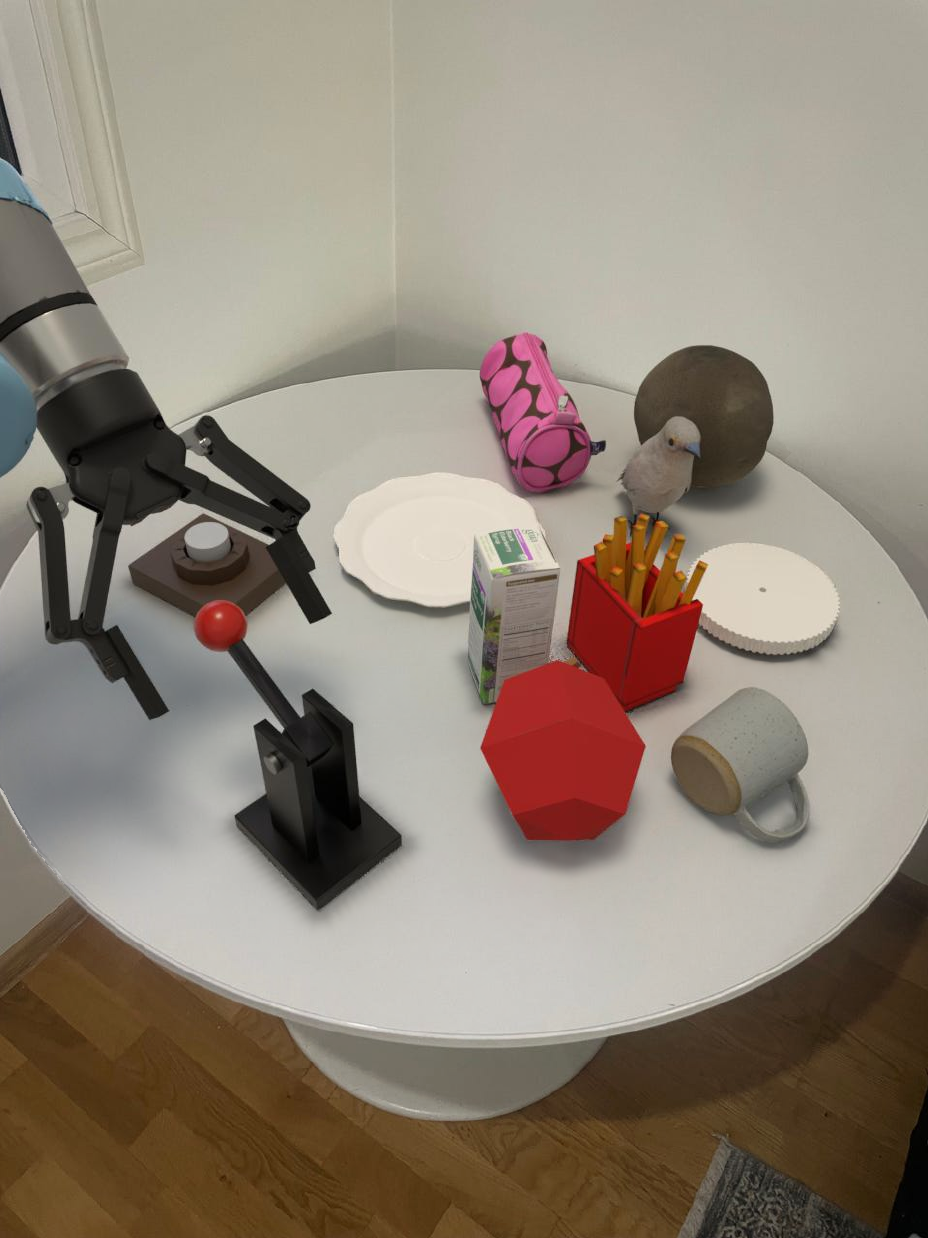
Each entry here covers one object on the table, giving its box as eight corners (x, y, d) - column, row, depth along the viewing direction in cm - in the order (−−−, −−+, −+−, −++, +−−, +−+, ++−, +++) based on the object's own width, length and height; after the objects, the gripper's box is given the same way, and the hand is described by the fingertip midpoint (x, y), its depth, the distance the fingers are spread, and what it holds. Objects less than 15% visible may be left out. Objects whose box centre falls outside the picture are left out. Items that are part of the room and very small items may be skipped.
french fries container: (627, 623, 93) (649, 501, 83) (686, 687, 87) (718, 565, 77) (563, 646, 90) (578, 524, 80) (620, 715, 84) (644, 592, 75)
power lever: (180, 628, 69) (186, 606, 66) (224, 604, 71) (231, 582, 68) (291, 780, 68) (302, 765, 65) (332, 751, 70) (345, 736, 67)
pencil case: (602, 492, 107) (613, 411, 101) (515, 503, 106) (521, 421, 99) (545, 391, 122) (552, 315, 116) (469, 399, 121) (471, 322, 114)
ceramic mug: (656, 777, 79) (673, 715, 74) (724, 729, 83) (744, 667, 78) (759, 870, 74) (786, 810, 68) (827, 814, 77) (858, 753, 72)
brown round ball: (702, 432, 116) (728, 312, 106) (782, 497, 107) (819, 372, 97) (601, 462, 112) (618, 339, 101) (676, 532, 103) (703, 406, 92)
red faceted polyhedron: (473, 868, 74) (467, 694, 83) (631, 870, 76) (609, 698, 84) (491, 804, 65) (483, 614, 73) (673, 807, 66) (644, 619, 74)
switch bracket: (235, 825, 75) (209, 714, 67) (319, 767, 80) (304, 655, 71) (318, 911, 70) (301, 803, 62) (402, 844, 74) (398, 734, 66)
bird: (652, 575, 98) (678, 446, 87) (599, 496, 107) (617, 371, 97) (697, 566, 99) (728, 438, 88) (641, 489, 108) (663, 364, 98)
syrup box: (465, 659, 89) (469, 532, 79) (528, 648, 90) (539, 521, 80) (482, 706, 85) (489, 577, 75) (548, 694, 86) (563, 565, 76)
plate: (321, 499, 105) (320, 486, 104) (509, 474, 109) (510, 461, 108) (355, 633, 91) (354, 619, 90) (571, 598, 95) (573, 585, 94)
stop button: (178, 552, 93) (175, 538, 92) (208, 531, 95) (206, 516, 94) (209, 568, 91) (206, 554, 90) (239, 546, 94) (237, 531, 93)
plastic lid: (837, 580, 98) (844, 561, 96) (827, 678, 88) (835, 658, 86) (694, 549, 101) (699, 529, 99) (670, 640, 91) (675, 620, 89)
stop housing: (132, 583, 95) (123, 550, 92) (206, 529, 101) (200, 498, 99) (224, 632, 90) (218, 600, 88) (296, 574, 97) (292, 542, 94)
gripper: (221, 350, 76) (359, 592, 79) (-108, 481, 63) (70, 764, 66) (254, 309, 70) (402, 574, 72) (-105, 444, 57) (92, 760, 59)
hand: (244, 665), depth 69 cm, fingers open, 13 cm apart
